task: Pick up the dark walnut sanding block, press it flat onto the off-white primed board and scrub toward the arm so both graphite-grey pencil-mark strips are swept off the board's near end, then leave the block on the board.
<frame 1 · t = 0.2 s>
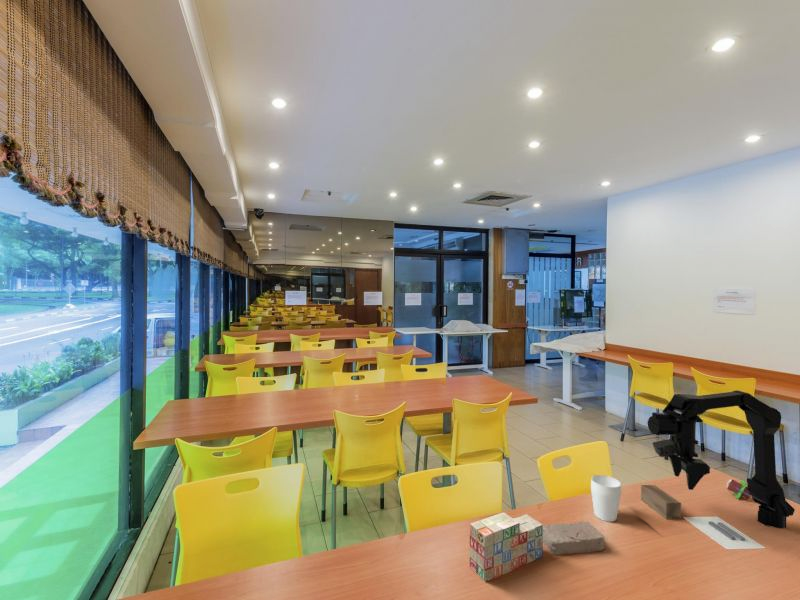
hand: (683, 482, 123), 14 cm above the table, fingers open, 9 cm apart
stack of blocks: (506, 563, 106), on the table
cup: (605, 516, 129), on the table
pencil mark b: (730, 532, 118), point 1 cm above the table, touching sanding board
brick: (571, 546, 114), on the table
pencil mark a: (721, 531, 118), point 1 cm above the table, touching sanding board
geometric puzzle: (740, 498, 142), on the table
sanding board: (721, 536, 118), on the table
sanding block: (659, 513, 131), on the table
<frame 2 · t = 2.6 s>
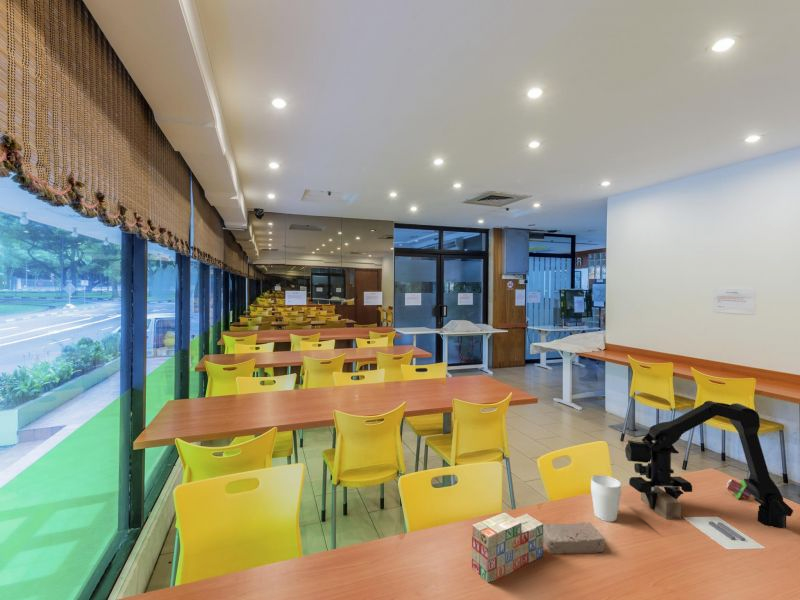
hand: (659, 509, 131), 2 cm above the table, fingers closed on sanding block, 5 cm apart
sanding block: (659, 513, 131), on the table, touching gripper
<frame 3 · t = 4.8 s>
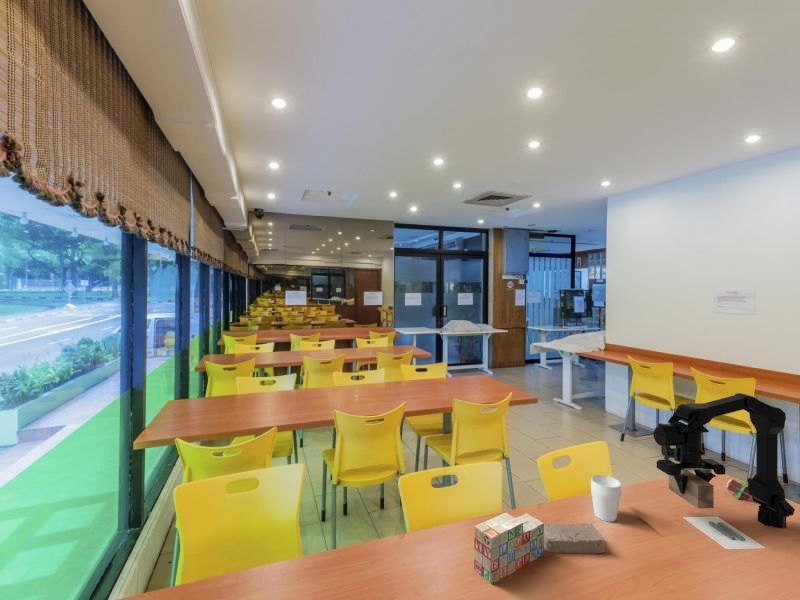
hand: (690, 493, 123), 11 cm above the table, fingers closed on sanding block, 5 cm apart
sanding block: (690, 497, 123), point 10 cm above the table, touching gripper
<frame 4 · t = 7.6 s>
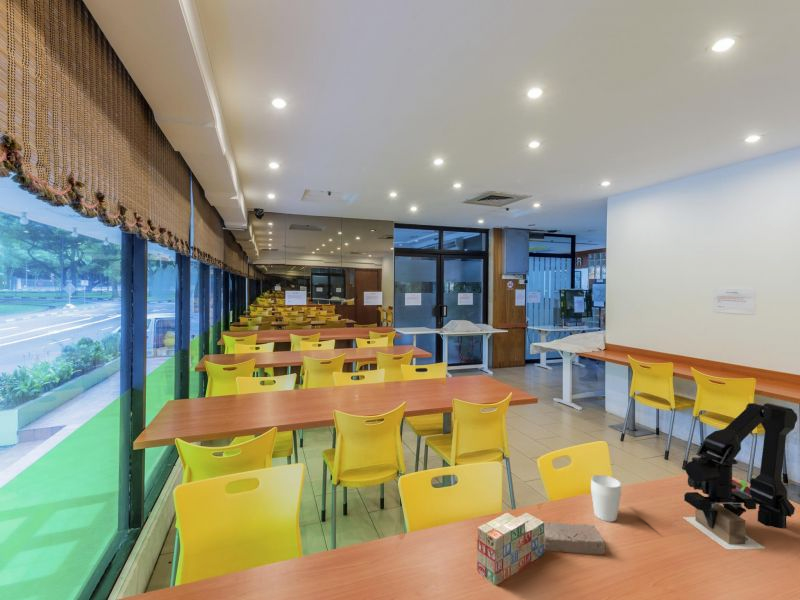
hand: (719, 527, 118), 3 cm above the table, fingers closed on sanding block, 5 cm apart
pencil mark b: (733, 532, 118), point 2 cm above the table, touching pencil mark a
pencil mark a: (728, 531, 119), point 2 cm above the table, touching pencil mark b, sanding block
sanding block: (719, 531, 118), point 2 cm above the table, touching gripper, pencil mark a
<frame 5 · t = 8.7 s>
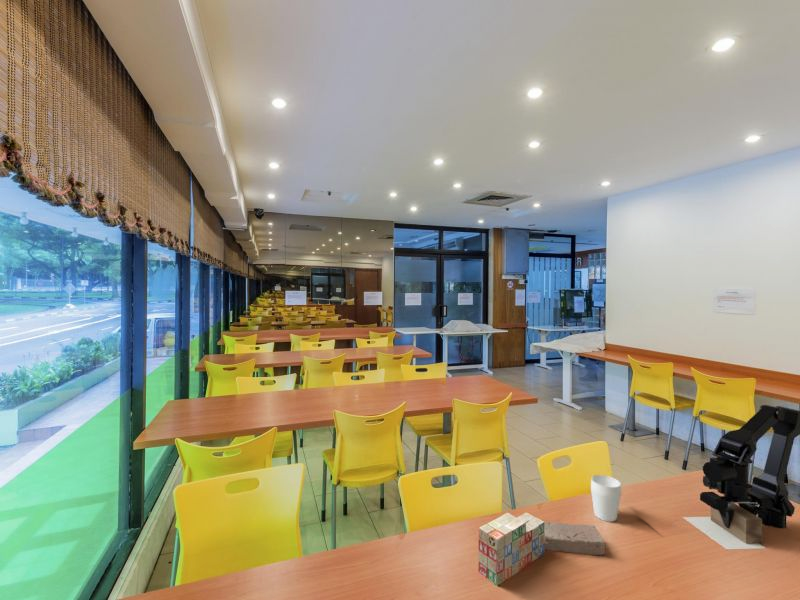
hand: (735, 527, 119), 3 cm above the table, fingers closed on sanding block, 5 cm apart
pencil mark b: (742, 536, 118), on the table, tilted 91°
pencil mark a: (746, 535, 119), on the table, tilted 179°
sanding block: (735, 530, 119), point 2 cm above the table, touching gripper
when the fingers open (3 cm above the table, at t = 11.1 s): sanding block stays where it is, resting on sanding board.
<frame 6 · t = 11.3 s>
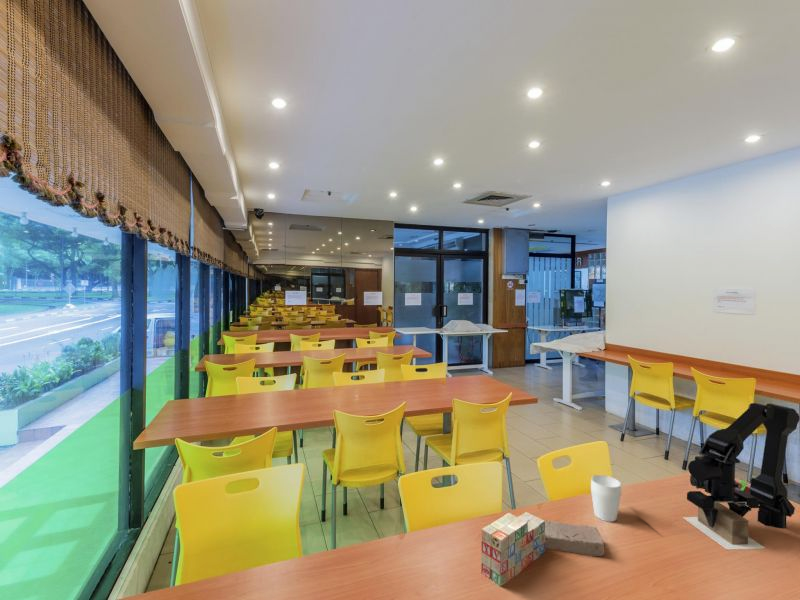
hand: (721, 526, 118), 3 cm above the table, fingers open, 7 cm apart
sanding block: (721, 531, 118), point 1 cm above the table, touching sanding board
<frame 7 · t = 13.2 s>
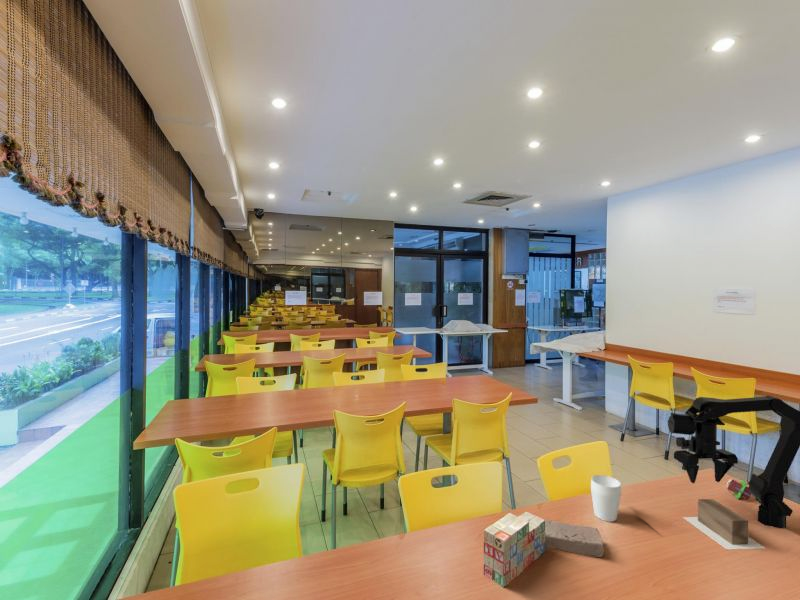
hand: (704, 482, 129), 12 cm above the table, fingers open, 9 cm apart
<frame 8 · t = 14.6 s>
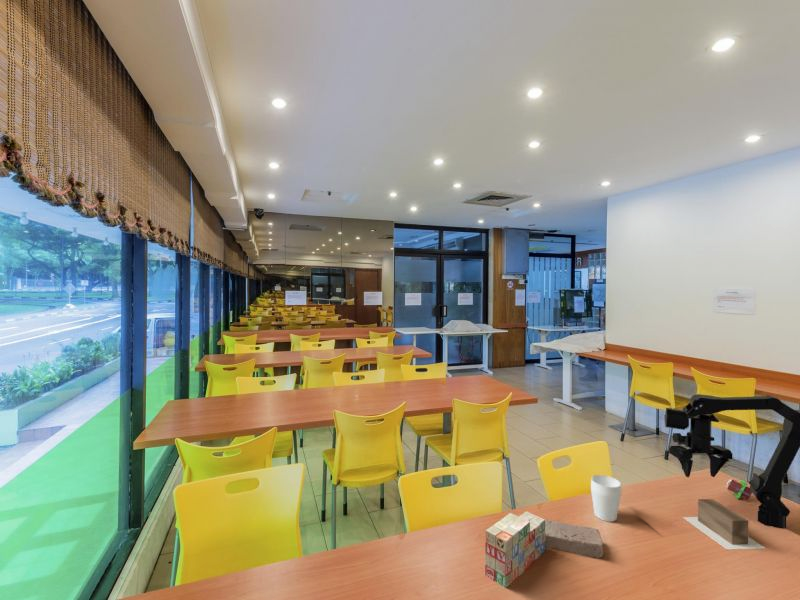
hand: (699, 476, 133), 12 cm above the table, fingers open, 9 cm apart
at the end: pencil mark a on the table; pencil mark b on the table; sanding block touching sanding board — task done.
